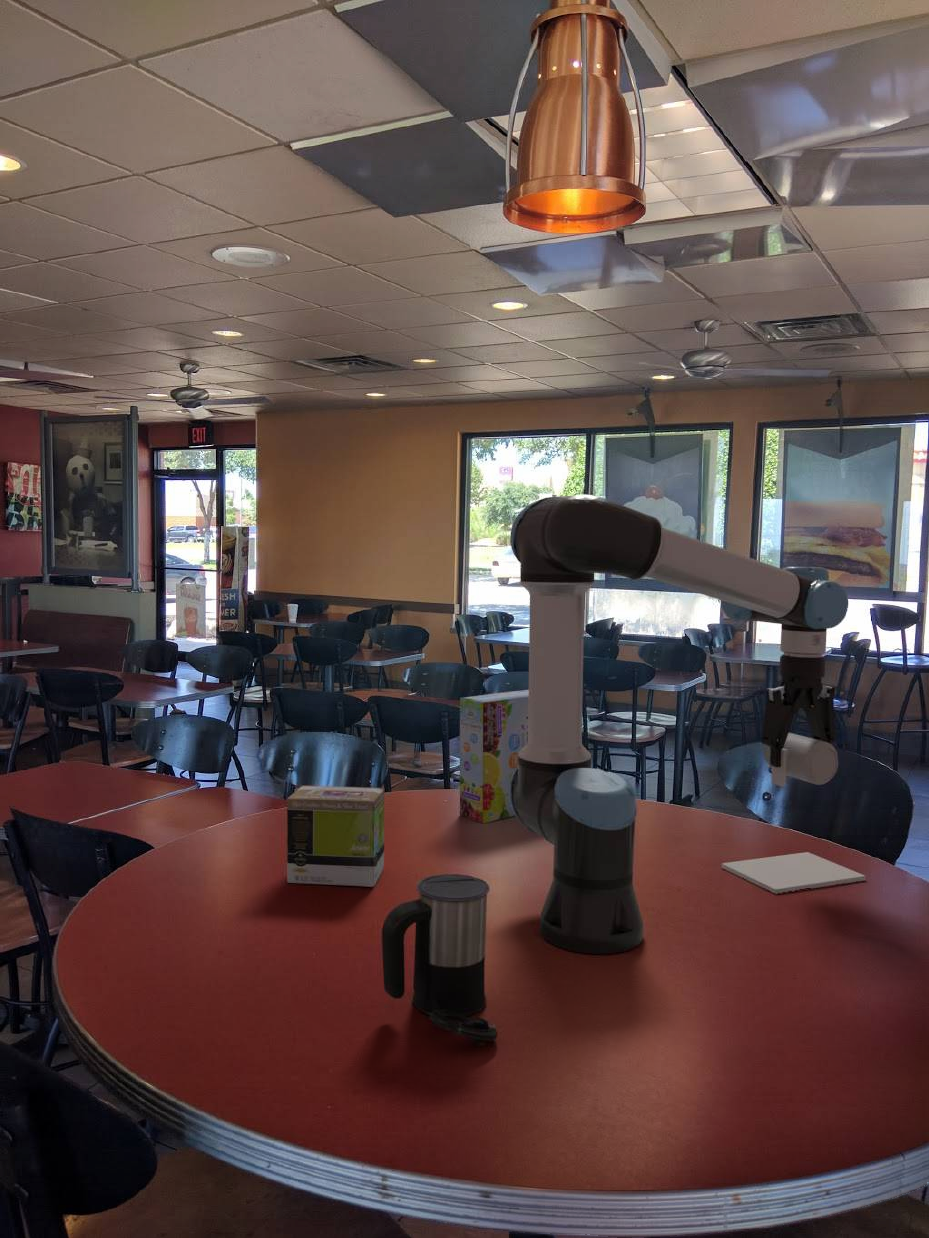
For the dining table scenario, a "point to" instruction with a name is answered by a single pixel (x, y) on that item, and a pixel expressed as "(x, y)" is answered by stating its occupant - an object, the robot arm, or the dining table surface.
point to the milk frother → (443, 952)
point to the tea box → (335, 835)
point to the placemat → (792, 872)
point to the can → (808, 759)
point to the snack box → (490, 751)
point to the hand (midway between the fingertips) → (796, 782)
